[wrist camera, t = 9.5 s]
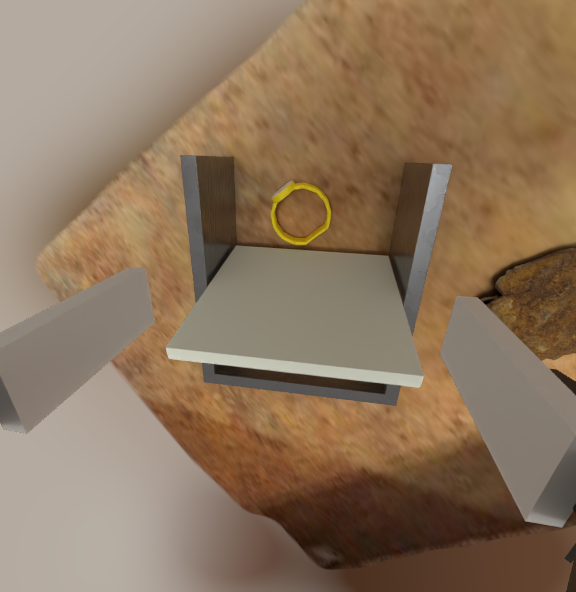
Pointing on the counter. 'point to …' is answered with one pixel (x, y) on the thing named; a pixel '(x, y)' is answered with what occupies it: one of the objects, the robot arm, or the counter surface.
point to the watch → (282, 194)
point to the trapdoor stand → (222, 240)
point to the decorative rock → (540, 303)
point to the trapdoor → (303, 317)
